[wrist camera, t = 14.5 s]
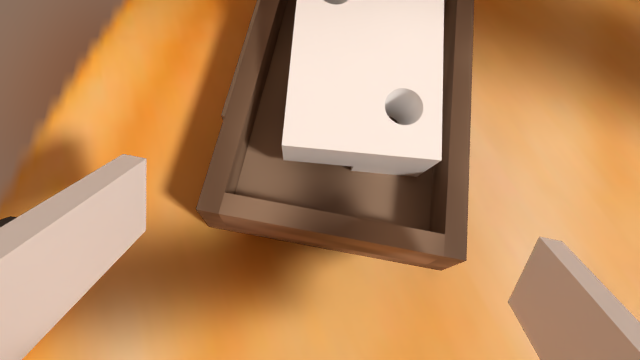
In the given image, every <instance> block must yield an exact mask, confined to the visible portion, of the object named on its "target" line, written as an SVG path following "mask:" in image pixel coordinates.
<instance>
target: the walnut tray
mask: <svg viewBox="0 0 640 360" xmlns="http://www.w3.org/2000/svg"><path fill="white" fill-rule="evenodd" d="M296 2H297V0H257V3H256V6H255V9H254V12H253V15H252V18H251V22H250V25H249V28H248V31H247V34H246V38H245V41H244V44H243V47H242V50H241V54H240V57H239V60H238V63H237V66H236V70H235V73H234V76H233V79H232V82H231V85H230V89H229V92H228V95H227V98H226V101H225V105H224V108H223V111H222V114H221V116H222V119H223V123H222V126H221V130H220V133H219V136H218V139H217V143H216V146H215V149H214V152H213V156H212V159H211V162H210V165H209V169H208V172H207V175H206V178H205V181H204V185H203V188H202V191H201V194H200V198H199V201H198V204H197V207H196V210H197V212H198V213H199V214H200V215H201V217H202V218H203V219H204V221H205V222H206V223H207V225H208V226H209V227H213V228H219V229H224V230H229V231H235V232H240V233H245V234H250V235H256V236H261V237H266V238H272V239H277V240H282V241H287V242H293V243H298V244H303V245H309V246H314V247H319V248H324V249H330V250H335V251H340V252H346V253H351V254H356V255H361V256H367V257H372V258H377V259H383V260H388V261H393V262H399V263H404V264H409V265H414V266H420V267H425V268H430V269H436V270H444V269H446V268H449V267H451V266H454V265H456V264H459V263H462V262H464V261H466V254H467V221H468V188H469V154H470V121H471V88H472V55H473V21H474V0H444V40H443V104H442V160H441V161H440V162H438V163H437V164H435V165H434V166H432V167H431V168H429V169H428V170H426V171H425V172H423V173H422V174H420V175H419V176H417V177H413V176H403V175H392V174H381V173H370V172H359V171H351V166H341V165H331V164H320V163H309V162H298V161H287V160H283V152H282V137H283V128H284V118H285V108H286V99H287V89H288V79H289V70H290V60H291V50H292V41H293V31H294V21H295V12H296ZM389 118H390V119H391V120H392V121H394V122H395V123H398V121H397V120H395V119H394V118H392V117H389ZM398 124H399V123H398Z"/></svg>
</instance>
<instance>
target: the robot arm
mask: <svg viewBox="0 0 640 360" xmlns="http://www.w3.org/2000/svg"><path fill="white" fill-rule="evenodd" d="M145 231H146V158H141V157H135V156H130V155H125V154H122V155H121V156H119V157H117V158H116V159H114V160H112V161H111V162H109V163H107V164H106V165H104V166H102V167H101V168H99V169H97V170H96V171H94V172H92V173H91V174H89V175H87V176H86V177H84V178H82V179H81V180H79V181H77V182H76V183H74V184H72V185H71V186H69V187H67V188H66V189H64V190H62V191H60V192H59V193H57V194H55V195H54V196H52V197H50V198H49V199H47V200H45V201H44V202H42V203H40V204H39V205H37V206H35V207H34V208H32V209H30V210H29V211H27V212H25V213H24V214H22V215H20V216H19V217H17V218H16V217H11V216H10V217H7V218H4V219H1V220H0V360H22V359H23V358H24V357H25V356H26V355H27V354H28V353H29V352H30V351H31V349H32V348H33V347H34V346H35V345H36V344H37V343H38V342H39V341H40V340H41V339H42V338H43V337H44V336H45V335H46V334H47V333H48V332H49V331H50V330H51V329H52V328H53V327H54V326H55V325H56V323H57V322H58V321H59V320H60V319H61V318H62V317H63V316H64V315H65V314H66V313H67V312H68V311H69V310H70V309H71V308H72V307H73V306H74V305H75V304H76V303H77V302H78V301H79V300H80V299H81V297H82V296H83V295H84V294H85V293H86V292H87V291H88V290H89V289H90V288H91V287H92V286H93V285H94V284H95V283H96V282H97V281H98V280H99V279H100V278H101V277H102V276H103V275H104V274H105V273H106V271H107V270H108V269H109V268H110V267H111V266H112V265H113V264H114V263H115V262H116V261H117V260H118V259H119V258H120V257H121V256H122V255H123V254H124V253H125V252H126V251H127V250H128V249H129V248H130V247H131V245H132V244H133V243H134V242H135V241H136V240H137V239H138V238H139V237H140V236H141V235H142V234H143V233H144V232H145ZM508 303H509V305H510V307H511V308H512V310H513V312H514V314H515V316H516V317H517V319H518V321H519V323H520V324H521V326H522V328H523V330H524V332H525V333H526V335H527V337H528V339H529V341H530V342H531V344H532V346H533V348H534V349H535V351H536V353H537V355H538V357H539V358H540V360H640V322H639V321H638V320H637V319H636V318H635V317H634V316H633V315H632V314H631V313H630V312H629V311H628V310H627V309H626V308H625V307H624V306H623V304H622V303H621V302H620V301H619V300H618V299H617V298H616V297H615V296H614V295H613V294H612V293H611V292H610V291H609V290H608V289H607V288H606V287H605V286H604V285H603V284H602V283H601V281H600V280H599V279H598V278H597V277H596V276H595V275H594V274H593V273H592V272H591V271H590V270H589V269H588V268H587V267H586V266H585V265H584V264H583V263H582V262H581V261H580V259H579V258H578V257H577V256H576V255H575V254H574V253H573V252H572V251H571V250H570V249H569V248H568V247H567V246H566V245H565V244H564V243H563V242H562V241H558V240H553V239H548V238H543V237H539V238H538V240H537V243H536V245H535V247H534V249H533V251H532V253H531V255H530V257H529V259H528V261H527V263H526V265H525V267H524V270H523V272H522V274H521V276H520V278H519V280H518V282H517V284H516V286H515V288H514V290H513V292H512V294H511V297H510V299H509V301H508Z"/></svg>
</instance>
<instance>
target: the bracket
mask: <svg viewBox="0 0 640 360" xmlns="http://www.w3.org/2000/svg"><path fill="white" fill-rule="evenodd" d="M443 40H444V0H297V2H296V12H295V21H294V31H293V41H292V50H291V60H290V70H289V79H288V89H287V99H286V108H285V118H284V128H283V137H282V152H283V160H287V161H298V162H309V163H320V164H331V165H341V166H351V171H359V172H370V173H381V174H392V175H403V176H413V177H417V176H419V175H420V174H422V173H423V172H425V171H426V170H428V169H429V168H431V167H432V166H434V165H435V164H437V163H438V162H440V161H441V160H442V104H443ZM389 117H392V118H394V119H395V120H397V121H398V123H399V124H398V123H395V122H394V121H392V120H391V119H390V118H389Z"/></svg>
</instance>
